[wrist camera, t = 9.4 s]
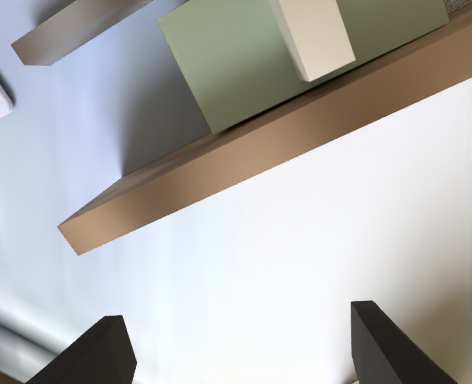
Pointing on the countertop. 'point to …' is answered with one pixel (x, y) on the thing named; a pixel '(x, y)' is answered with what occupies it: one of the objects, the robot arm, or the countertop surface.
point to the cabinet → (282, 46)
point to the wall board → (253, 128)
